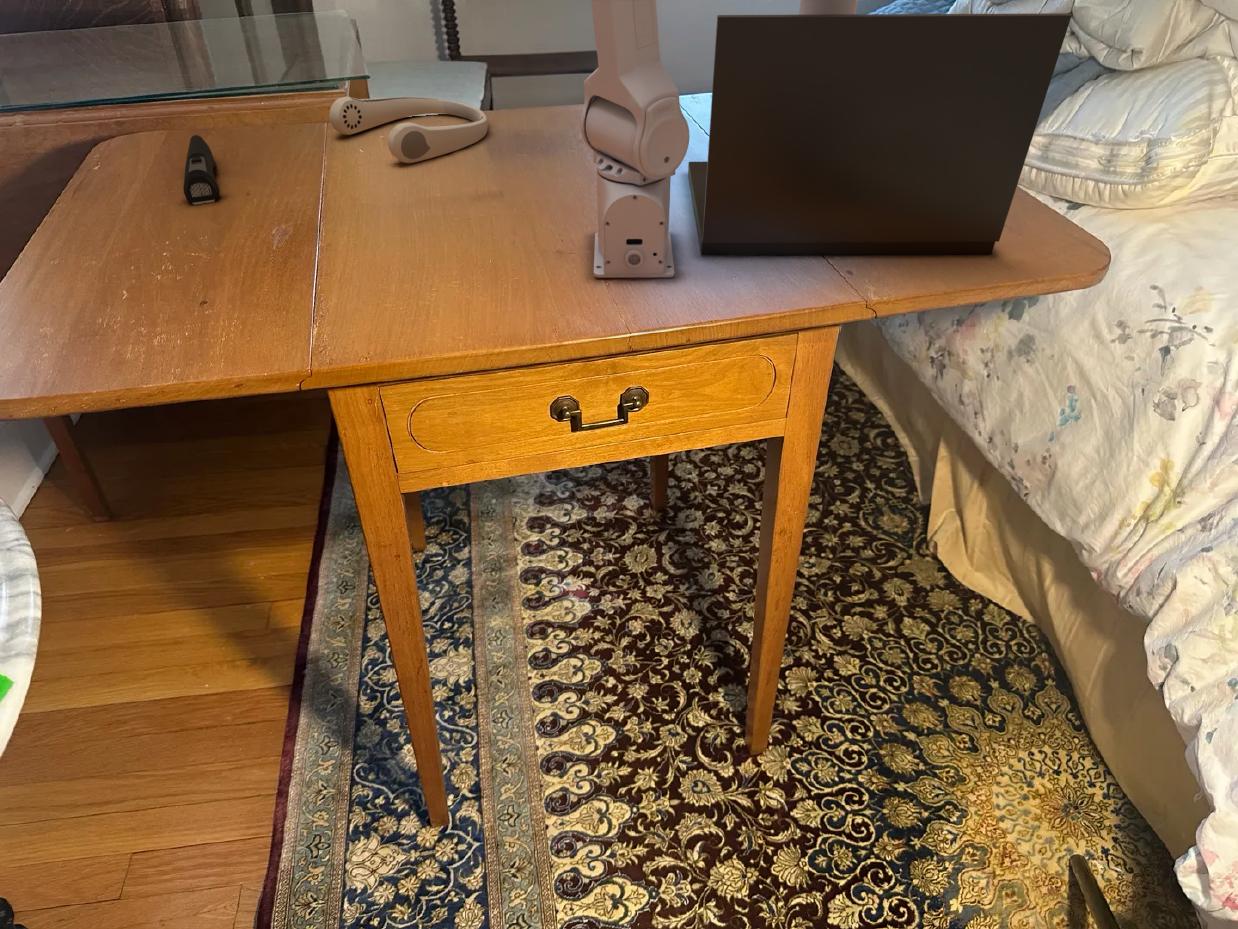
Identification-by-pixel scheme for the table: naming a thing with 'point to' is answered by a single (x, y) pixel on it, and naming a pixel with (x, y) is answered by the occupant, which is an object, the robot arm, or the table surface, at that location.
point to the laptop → (698, 189)
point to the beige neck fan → (410, 124)
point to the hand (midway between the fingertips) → (812, 118)
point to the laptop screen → (873, 124)
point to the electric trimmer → (200, 173)
